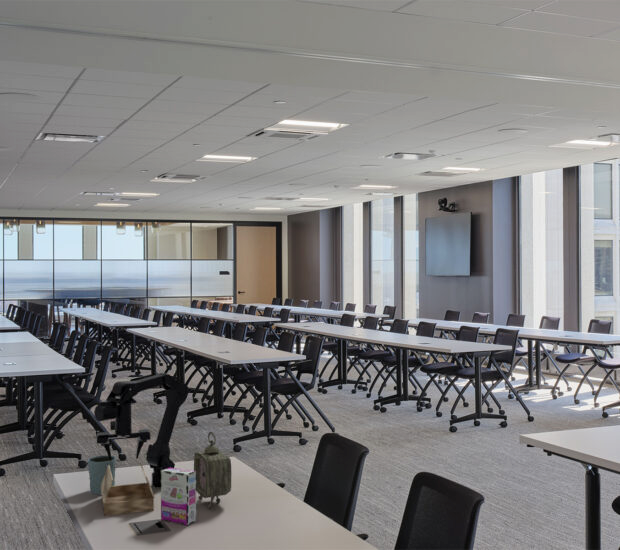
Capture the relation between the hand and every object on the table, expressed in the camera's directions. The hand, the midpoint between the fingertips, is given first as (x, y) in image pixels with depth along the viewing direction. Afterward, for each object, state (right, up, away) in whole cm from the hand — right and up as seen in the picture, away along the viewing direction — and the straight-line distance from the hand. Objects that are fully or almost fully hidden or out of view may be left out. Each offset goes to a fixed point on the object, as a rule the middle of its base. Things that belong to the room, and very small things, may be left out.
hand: (123, 460), depth 267 cm
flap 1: (-3, -5, -12) cm, 13 cm away
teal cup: (-10, -13, +6) cm, 17 cm away
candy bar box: (+25, -13, -27) cm, 39 cm away
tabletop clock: (+33, -13, -9) cm, 37 cm away
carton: (+4, -13, -10) cm, 17 cm away
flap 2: (+10, -5, -7) cm, 13 cm away
